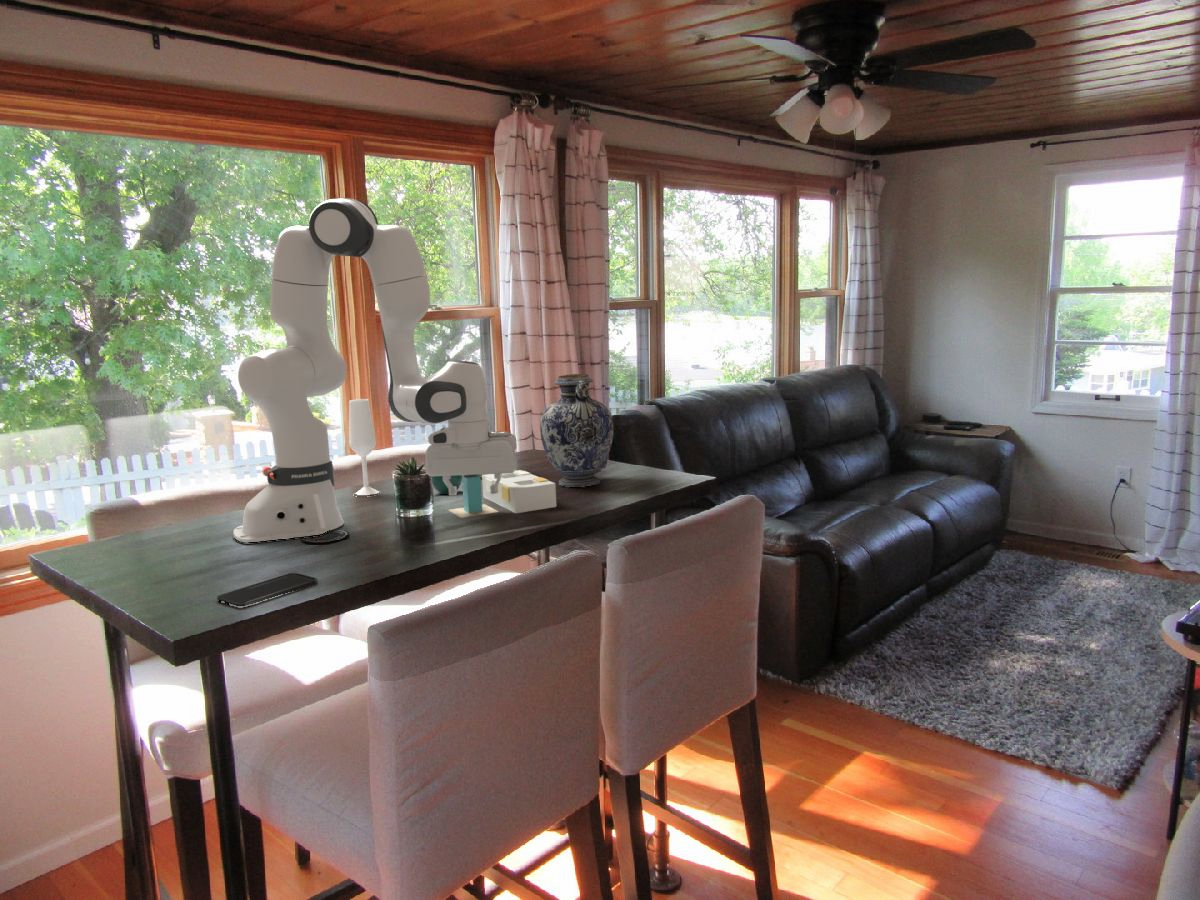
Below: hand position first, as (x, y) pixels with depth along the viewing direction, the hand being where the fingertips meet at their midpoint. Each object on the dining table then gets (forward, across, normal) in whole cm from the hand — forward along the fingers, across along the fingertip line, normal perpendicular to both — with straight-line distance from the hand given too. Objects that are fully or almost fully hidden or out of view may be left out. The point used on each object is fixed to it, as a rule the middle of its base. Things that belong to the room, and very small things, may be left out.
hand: (473, 494), depth 195 cm
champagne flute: (+4, +33, -24) cm, 41 cm away
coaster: (+5, +1, -1) cm, 5 cm away
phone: (+5, +25, +52) cm, 58 cm away
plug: (+4, 0, -1) cm, 4 cm away
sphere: (+5, +12, -22) cm, 25 cm away
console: (+5, -9, -9) cm, 13 cm away
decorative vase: (+5, -21, -30) cm, 37 cm away
